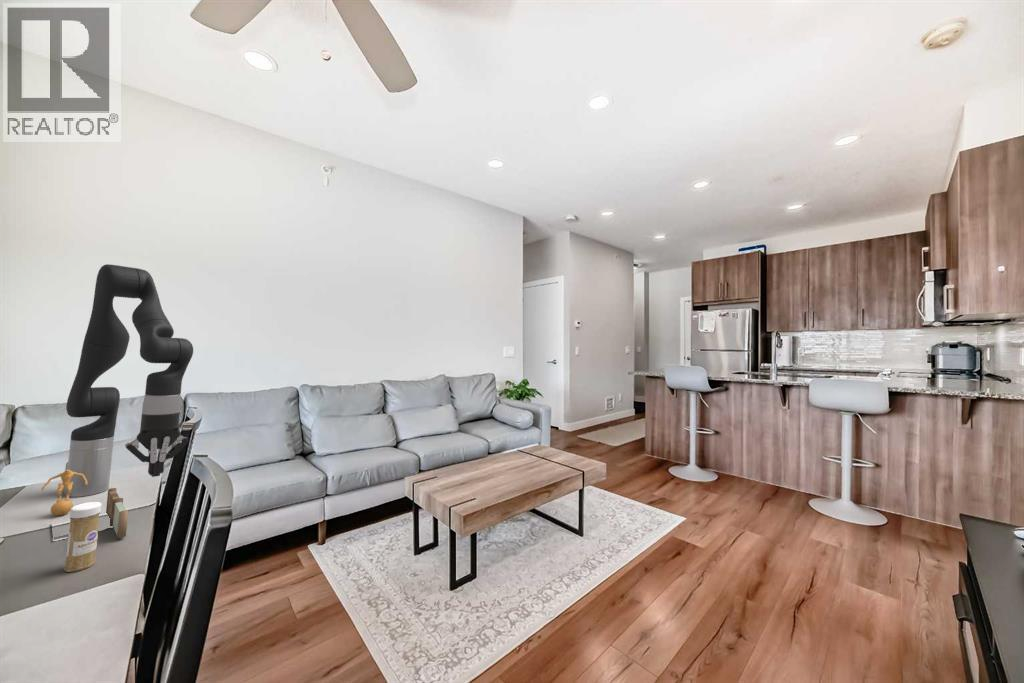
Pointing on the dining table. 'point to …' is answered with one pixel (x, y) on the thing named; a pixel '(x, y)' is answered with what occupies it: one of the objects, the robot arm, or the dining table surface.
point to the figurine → (61, 505)
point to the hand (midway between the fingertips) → (155, 475)
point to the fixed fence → (112, 503)
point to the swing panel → (120, 520)
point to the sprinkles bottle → (82, 536)
